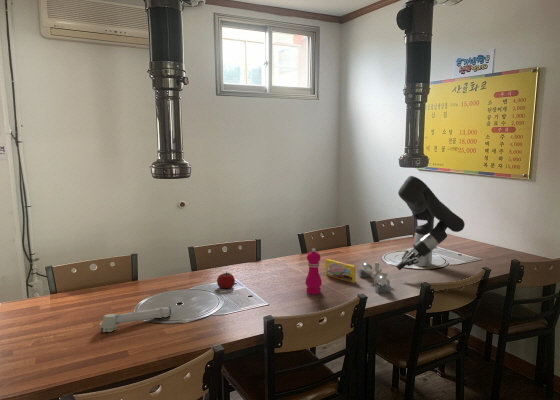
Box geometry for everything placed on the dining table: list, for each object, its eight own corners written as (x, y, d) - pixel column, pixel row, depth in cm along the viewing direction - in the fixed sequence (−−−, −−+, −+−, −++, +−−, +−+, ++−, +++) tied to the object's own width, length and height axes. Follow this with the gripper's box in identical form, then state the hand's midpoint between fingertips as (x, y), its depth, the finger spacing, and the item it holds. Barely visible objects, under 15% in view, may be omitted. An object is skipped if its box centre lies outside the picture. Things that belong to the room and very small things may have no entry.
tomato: (228, 283, 192) (227, 268, 191) (238, 287, 187) (238, 272, 186) (214, 287, 187) (213, 272, 186) (224, 292, 181) (224, 276, 180)
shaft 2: (373, 289, 183) (373, 274, 182) (385, 288, 184) (386, 273, 183) (378, 294, 177) (378, 279, 176) (391, 293, 178) (391, 278, 177)
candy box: (325, 275, 202) (325, 259, 200) (327, 274, 203) (328, 258, 202) (353, 283, 191) (353, 266, 190) (355, 282, 192) (355, 265, 191)
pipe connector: (382, 288, 183) (384, 267, 182) (361, 283, 189) (363, 263, 187) (389, 282, 192) (391, 262, 190) (369, 278, 197) (370, 258, 196)
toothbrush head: (172, 309, 155) (101, 316, 142) (170, 325, 156) (100, 334, 142) (168, 304, 160) (99, 311, 146) (166, 320, 160) (98, 328, 147)
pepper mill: (310, 296, 176) (311, 251, 173) (302, 290, 182) (302, 247, 179) (324, 293, 179) (325, 249, 176) (316, 287, 185) (316, 245, 182)
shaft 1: (357, 275, 201) (358, 261, 200) (369, 274, 202) (369, 260, 201) (362, 279, 195) (362, 265, 194) (374, 278, 196) (374, 264, 195)
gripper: (416, 235, 198) (388, 258, 200) (426, 243, 185) (397, 267, 187) (425, 246, 199) (398, 269, 201) (436, 254, 186) (407, 279, 188)
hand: (397, 268), depth 194 cm, fingers closed
